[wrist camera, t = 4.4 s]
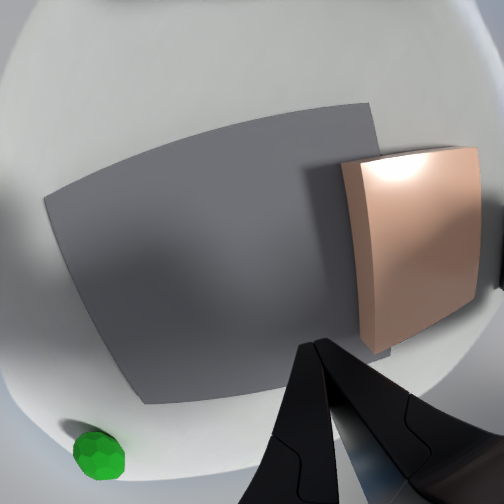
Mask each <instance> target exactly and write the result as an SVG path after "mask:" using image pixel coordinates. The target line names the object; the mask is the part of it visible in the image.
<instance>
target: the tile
mask: <svg viewBox="0 0 504 504" xmlns="http://www.w3.org/2000/svg"><path fill="white" fill-rule="evenodd" d="M341 167H342V172H343V178H344V183H345V189H346V195H347V201H348V208H349V214H350V222H351V229H352V237H353V245H354V254H355V264H356V275H357V287H358V301H359V320H360V339H361V340H362V341H363V342H364V343H365V344H366V345H367V347H368V348H369V349H370V350H371V351H372V352H373V354H374V355H375V354H377V353H379V352H382V351H384V350H386V349H388V348H390V347H392V346H394V345H396V344H398V343H400V342H402V341H404V340H406V339H408V338H409V337H411V336H413V335H415V334H417V333H419V332H421V331H422V330H424V329H426V328H428V327H429V326H431V325H433V324H435V323H436V322H438V321H440V320H441V319H443V318H445V317H446V316H448V315H450V314H451V313H453V312H454V311H456V310H458V309H459V308H461V307H462V306H464V305H465V304H467V303H468V302H470V301H471V300H473V299H474V298H475V292H476V285H477V277H478V269H479V259H480V246H481V219H482V207H481V180H480V167H479V157H478V149H477V147H466V146H452V147H443V148H434V149H426V150H418V151H411V152H404V153H397V154H390V155H384V156H378V157H372V158H366V159H360V160H354V161H349V162H344V163H341Z"/></svg>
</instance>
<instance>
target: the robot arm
mask: <svg viewBox="0 0 504 504" xmlns="http://www.w3.org/2000/svg"><path fill="white" fill-rule="evenodd" d="M499 287H500V289H502V290H503V291H504V257H503V265H502V272H501V279H500V285H499ZM331 416H332V419H333V421H334V423H335V426H336V428H337V430H338V433H339V435H340V437H341V439H342V442H343V444H344V447H345V449H346V451H347V454H348V456H349V458H350V461H351V463H352V466H353V468H354V470H355V473H356V475H357V477H358V480H359V482H360V484H361V487H362V489H363V492H364V494H365V496H366V499H367V501H368V504H504V435H498V434H494V433H491V432H488V431H486V430H483V429H481V428H478V427H476V426H473V425H471V424H469V423H467V422H464V421H462V420H459V419H457V418H455V417H453V416H451V415H448V414H446V413H444V412H442V411H440V410H438V409H436V408H434V407H433V406H431V405H429V404H428V403H426V402H424V401H423V400H421V399H419V398H418V397H416V396H415V395H413V394H409V392H408V391H407V390H405V389H404V388H402V387H400V386H399V385H397V384H396V383H394V382H393V381H391V380H390V379H388V378H387V377H385V376H384V375H382V374H381V373H379V372H378V371H376V370H375V369H373V368H372V367H370V366H369V365H367V364H366V363H364V362H363V361H361V360H360V359H358V358H357V357H355V356H354V355H352V354H351V353H349V352H348V351H346V350H345V349H343V348H342V347H340V346H339V345H337V344H336V343H335V342H333V341H332V340H330V339H329V338H321V339H318V340H315V341H314V342H306V343H302V344H299V345H298V348H297V352H296V355H295V359H294V362H293V366H292V370H291V373H290V377H289V380H288V383H287V387H286V390H285V393H284V397H283V400H282V403H281V406H280V410H279V413H278V416H277V419H276V422H275V425H274V428H273V431H272V436H271V437H270V440H269V442H268V445H267V448H266V451H265V453H264V456H263V458H262V460H261V463H260V465H259V467H258V469H257V471H256V473H255V475H254V477H253V479H252V481H251V483H250V484H249V486H248V488H247V490H246V491H245V493H244V494H243V496H242V498H241V499H240V501H239V503H238V504H339V492H338V479H337V469H336V458H335V448H334V439H333V431H332V422H331Z"/></svg>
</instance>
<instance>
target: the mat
mask: <svg viewBox="0 0 504 504" xmlns="http://www.w3.org/2000/svg"><path fill="white" fill-rule="evenodd" d="M378 156H380V151H379V146H378V141H377V136H376V131H375V127H374V122H373V118H372V114H371V110H370V106H369V103H359V104H348V105H339V106H331V107H323V108H316V109H309V110H303V111H297V112H291V113H285V114H280V115H275V116H270V117H265V118H260V119H256V120H251V121H247V122H243V123H239V124H235V125H231V126H227V127H223V128H219V129H215V130H212V131H208V132H205V133H201V134H198V135H194V136H191V137H188V138H185V139H182V140H178V141H175V142H172V143H169V144H166V145H163V146H160V147H158V148H155V149H152V150H149V151H147V152H144V153H141V154H138V155H136V156H133V157H131V158H128V159H126V160H123V161H121V162H118V163H116V164H113V165H111V166H109V167H106V168H104V169H102V170H99V171H97V172H95V173H93V174H91V175H88V176H86V177H84V178H82V179H80V180H78V181H76V182H74V183H72V184H70V185H68V186H66V187H64V188H62V189H60V190H58V191H56V192H54V193H52V194H50V195H48V196H46V197H45V198H44V199H45V203H46V206H47V210H48V213H49V216H50V220H51V223H52V226H53V229H54V232H55V235H56V238H57V240H58V243H59V246H60V249H61V251H62V254H63V257H64V259H65V262H66V264H67V267H68V269H69V271H70V274H71V276H72V279H73V281H74V283H75V285H76V288H77V290H78V292H79V294H80V296H81V298H82V301H83V303H84V305H85V307H86V309H87V311H88V313H89V315H90V317H91V319H92V321H93V323H94V324H95V326H96V328H97V330H98V332H99V334H100V336H101V337H102V339H103V341H104V343H105V344H106V346H107V348H108V350H109V351H110V353H111V355H112V356H113V358H114V360H115V361H116V363H117V364H118V366H119V368H120V369H121V371H122V372H123V374H124V375H125V377H126V378H127V380H128V381H129V383H130V384H131V386H132V387H133V389H134V390H135V392H136V393H137V395H138V396H139V397H140V399H141V400H142V402H143V403H144V404H164V403H179V402H190V401H200V400H209V399H217V398H225V397H232V396H238V395H244V394H250V393H256V392H261V391H267V390H272V389H276V388H281V387H286V386H287V383H288V380H289V377H290V373H291V370H292V366H293V362H294V359H295V355H296V352H297V348H298V345H299V344H302V343H306V342H314V341H315V340H318V339H321V338H329V339H330V340H332V341H333V342H335V343H336V344H337V345H339V346H340V347H342V348H343V349H345V350H346V351H348V352H349V353H351V354H352V355H354V356H355V357H357V358H358V359H360V360H361V361H363V362H364V363H366V364H368V363H371V362H374V361H377V360H380V359H383V358H385V357H388V356H390V352H391V347H390V348H388V349H386V350H384V351H382V352H379V353H377V354H375V355H374V354H373V352H372V351H371V350H370V349H369V348H368V347H367V345H366V344H365V343H364V342H363V341H362V340H361V339H360V320H359V301H358V287H357V275H356V264H355V254H354V245H353V237H352V229H351V222H350V214H349V208H348V201H347V195H346V189H345V183H344V178H343V172H342V167H341V163H344V162H349V161H354V160H360V159H366V158H372V157H378Z"/></svg>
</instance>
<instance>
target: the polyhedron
mask: <svg viewBox="0 0 504 504" xmlns="http://www.w3.org/2000/svg"><path fill="white" fill-rule="evenodd" d="M73 456H74V459H75V460H76V462H77V464H78V465H79V467H80V468H81V470H82V471H83V472H84V473H85V474H86V475H87V476H89V477H91V478H93V479H95V480H109V479H117V478H118V477H119V476H120V475H121V474H122V473H123V472H124V468H125V452H124V451H123V449H122V447H121V446H120V444H119V443H118V442H117V441H116V440H115V439H114V438H112V437H110V436H108V435H106V434H104V433H102V432H87V433H83V434H82V435H81V436H80V437H79V438H78V439H77V440H76V441H75V443H74V446H73Z"/></svg>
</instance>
